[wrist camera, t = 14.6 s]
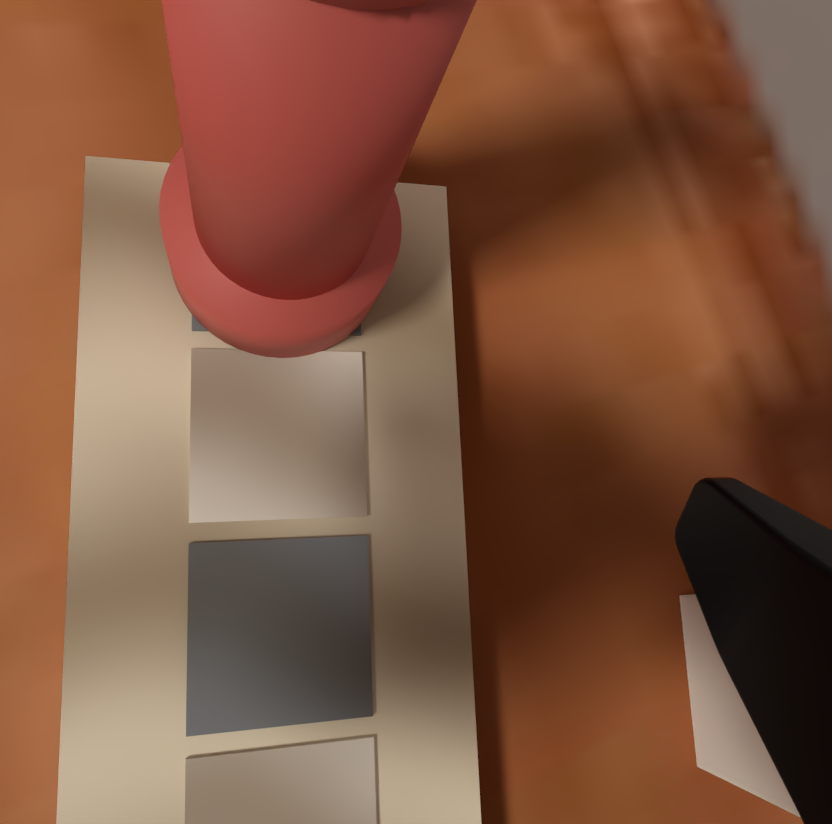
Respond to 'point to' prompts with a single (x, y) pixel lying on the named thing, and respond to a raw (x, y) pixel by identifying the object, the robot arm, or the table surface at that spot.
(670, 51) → the table surface
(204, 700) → the track board
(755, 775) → the white cube
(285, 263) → the pawn
